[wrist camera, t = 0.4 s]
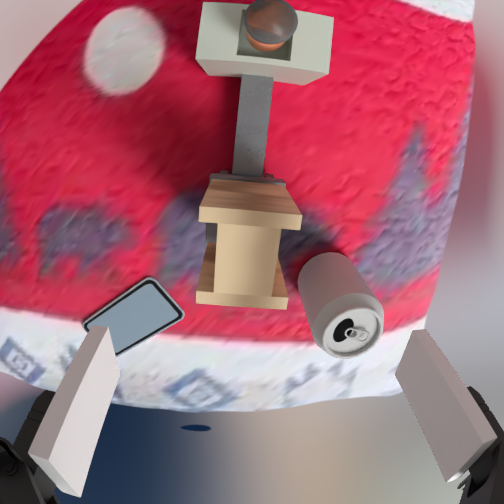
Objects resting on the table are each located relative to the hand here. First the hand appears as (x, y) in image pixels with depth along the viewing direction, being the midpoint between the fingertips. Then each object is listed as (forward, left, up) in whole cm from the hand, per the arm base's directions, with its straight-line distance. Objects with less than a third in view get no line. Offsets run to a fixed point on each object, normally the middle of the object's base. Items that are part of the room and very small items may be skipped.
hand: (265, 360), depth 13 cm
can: (+10, -8, -25) cm, 28 cm away
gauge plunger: (-1, +16, -15) cm, 22 cm away
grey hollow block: (-1, +16, -25) cm, 29 cm away
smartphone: (-15, -18, -25) cm, 34 cm away
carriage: (-1, 0, -25) cm, 25 cm away
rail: (-1, +5, -25) cm, 25 cm away
